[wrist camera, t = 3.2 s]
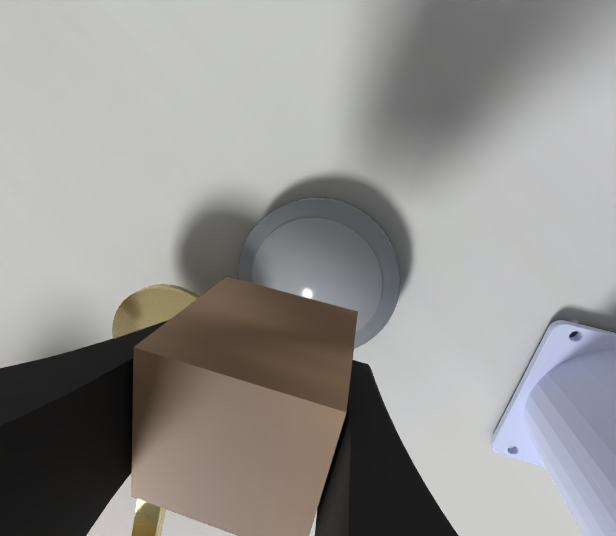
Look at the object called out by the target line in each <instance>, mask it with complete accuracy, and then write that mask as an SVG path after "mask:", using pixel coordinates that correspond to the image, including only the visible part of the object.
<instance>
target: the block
mask: <svg viewBox="0 0 616 536" xmlns="http://www.w3.org/2000/svg"><path fill="white" fill-rule="evenodd" d="M357 315H358V311H354V310H350V309H347V308H343V307H339V306H336V305H332V304H328V303H324V302H321V301H317V300H313V299H309V298H306V297H302V296H298V295H294V294H291V293H287V292H283V291H279V290H276V289H272V288H268V287H265V286H261V285H257V284H253V283H250V282H246V281H242V280H238V279H235V278H231V277H227V276H226V277H225V278H224V279H223V280H221V281H220V282H219V283H217V284H216V285H215V286H213V287H212V288H211V289H209V290H208V291H207V292H205V293H204V294H203V295H202V296H200V297H199V298H198V299H196V300H195V301H194V302H192V303H191V304H190V305H188V306H187V307H186V308H184V309H183V310H182V311H181V312H179V313H178V314H177V315H175V316H174V317H173V318H171V319H170V320H169V321H167V322H166V323H165V324H163V325H162V326H161V327H160V328H158V329H157V330H156V331H154V332H153V333H152V334H150V335H149V336H148V337H146V338H145V339H144V340H142V341H141V342H140V343H139V344H137V345H136V346H135V347H134V358H133V420H132V482H131V496H132V497H134V498H137V499H140V500H142V501H145V502H148V503H151V504H153V505H156V506H159V507H161V508H164V509H167V510H170V511H172V512H175V513H178V514H181V515H183V516H186V517H189V518H191V519H194V520H197V521H200V522H202V523H205V524H208V525H210V526H213V527H216V528H219V529H221V530H224V531H227V532H229V533H232V534H235V535H238V536H309V534H310V531H311V528H312V524H313V521H314V518H315V514H316V511H317V508H318V504H319V501H320V498H321V495H322V491H323V488H324V485H325V481H326V478H327V475H328V472H329V468H330V465H331V462H332V458H333V455H334V452H335V448H336V445H337V442H338V439H339V435H340V432H341V429H342V425H343V422H344V419H345V416H346V412H347V403H348V394H349V386H350V377H351V368H352V359H353V351H354V342H355V333H356V324H357Z"/></svg>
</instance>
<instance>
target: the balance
mask: <svg viewBox="0 0 616 536" xmlns="http://www.w3.org/2000/svg"><path fill="white" fill-rule="evenodd" d="M199 297H200V296H199V295H197V294H195V293H194V292H192V291H189V290H187V289H185V288H182V287H179V286H174V285H167V284H160V285H153V286H149V287H146V288H143V289H141V290H140V291H138V292H136V293H134V294H132V295H131V296H129V297H128V298H127V299H125V300H124V301H123V302H122V304H121V305H120V306H119V308H118V310H117V311H116V314H115V317H114V321H113V330H112V331H113V339H114V338H117V337H120V336H123V335H126V334H129V333H132V332H135V331H138V330H141V329H144V328H147V327H150V326H152V325H155V324H158V323H161V322H164V321H167V320H170V319H171V318H173V317H174V316H175V315H177V314H178V313H179V312H181V311H182V310H183V309H184V308H186V307H187V306H188V305H190V304H191V303H192V302H194V301H195V300H196V299H198V298H199ZM165 510H166V509H164V508H161V507H159V506H156V505H153V504H151V503H148V502H145V501H142V500H140V499H137V505H136V511H135V518H134V524H133V530H132V536H161V533H162V527H163V521H164V516H165Z"/></svg>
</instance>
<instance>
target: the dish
mask: <svg viewBox="0 0 616 536" xmlns="http://www.w3.org/2000/svg"><path fill="white" fill-rule="evenodd" d="M238 277H239V280H242V281H246V282H250V283H253V284H257V285H261V286H265V287H268V288H272V289H276V290H279V291H283V292H287V293H291V294H294V295H298V296H302V297H306V298H309V299H313V300H317V301H321V302H324V303H328V304H332V305H336V306H339V307H343V308H347V309H350V310H354V311H358V315H357V324H356V333H355V342H354V348H357V347H359V346H361V345H363V344H365V343H366V342H368V341H369V340H371V339H372V338H373V337H375V336H376V335H377V334H378V333H379V332H380V331H381V330H382V329H383V327H384V326H385V325H386V324H387V322H388V321H389V319H390V317H391V316H392V314H393V312H394V309H395V307H396V304H397V300H398V296H399V289H400V273H399V268H398V263H397V258H396V254H395V252H394V249H393V246H392V244H391V242H390V240H389V238H388V236H387V235H386V234H385V232H384V231H383V229H382V228H381V227H380V226H379V225H378V224H377V222H376V221H375V220H374V219H372V218H371V217H370V216H369V215H368V214H366V213H365V212H363V211H362V210H360V209H359V208H357V207H355V206H353V205H350V204H348V203H346V202H343V201H339V200H336V199H330V198H306V199H301V200H297V201H293V202H291V203H288V204H286V205H284V206H281V207H279V208H277V209H276V210H274V211H272V212H270V213H269V214H268V215H266V216H265V217H264V218H263V219H261V220H260V221H259V223H258V224H257V225H256V226H255V227H254V228H253V229H252V231H251V232H250V234H249V235H248V237H247V239H246V241H245V243H244V245H243V248H242V251H241V254H240V259H239V268H238Z"/></svg>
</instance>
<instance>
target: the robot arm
mask: <svg viewBox="0 0 616 536" xmlns="http://www.w3.org/2000/svg"><path fill="white" fill-rule="evenodd" d="M167 321H169V320H167ZM167 321H164V322H161V323H158V324H155V325H152V326H150V327H147V328H144V329H141V330H138V331H135V332H132V333H129V334H126V335H123V336H120V337H117V338H114V339H111V340H107V341H104V342H101V343H97V344H94V345H91V346H87V347H84V348H81V349H77V350H74V351H71V352H67V353H63V354H60V355H56V356H52V357H48V358H44V359H40V360H35V361H31V362H27V363H22V364H18V365H14V366H9V367H4V368H0V536H86V535H87V533H88V532H89V531H90V529H91V528H92V526H93V525H94V523H95V522H96V520H97V519H98V517H99V516H100V514H101V513H102V512H103V510H104V509H105V507H106V506H107V504H108V503H109V501H110V500H111V498H112V497H113V496H114V494H115V493H116V492H117V490H118V489H119V488H120V487H121V485H122V484H123V483H124V481H125V480H126V479H127V477H128V476H129V475H130V474H131V473H132V420H133V358H134V347H135V346H136V345H137V344H139V343H140V342H141V341H142V340H144V339H145V338H146V337H148V336H149V335H150V334H152V333H153V332H154V331H156V330H157V329H158V328H160V327H161V326H162V325H163V324H165V323H166V322H167ZM574 331H577V334H576V335H575V336H573V337H569V335H570V334H571V333H572V332H574ZM491 445H492V448H493V450H494V451H495V452H497V453H499V454H502V455H506V456H509V457H512V458H515V459H519V460H522V461H525V462H529V463H532V464H535V465H538V466H542V467H545V468H546V469H547V471H548V473H549V475H550V476H551V478H552V480H553V482H554V484H555V485H556V487H557V489H558V491H559V493H560V494H561V496H562V498H563V500H564V501H565V503H566V505H567V507H568V509H569V510H570V512H571V514H572V516H573V518H574V519H575V521H576V523H577V525H578V526H579V528H580V530H581V532H582V534H583V535H584V536H616V333H614V332H610V331H606V330H602V329H598V328H594V327H590V326H586V325H582V324H578V323H574V322H570V321H566V320H558V321H555V322H553V323H551V324H550V326H549V327H548V329H547V331H546V333H545V335H544V337H543V339H542V341H541V343H540V345H539V347H538V349H537V350H536V352H535V354H534V356H533V358H532V360H531V362H530V364H529V366H528V368H527V370H526V372H525V374H524V376H523V378H522V380H521V382H520V384H519V386H518V388H517V389H516V391H515V393H514V395H513V397H512V399H511V401H510V403H509V405H508V407H507V409H506V411H505V413H504V415H503V417H502V419H501V421H500V423H499V425H498V427H497V429H496V430H495V432H494V434H493V436H492V438H491ZM511 446H515V447H513V448H509V447H511ZM315 536H458V534H457V533H456V531H455V530H454V529H453V527H452V526H451V524H450V523H449V521H448V520H447V518H446V517H445V515H444V514H443V512H442V511H441V509H440V507H439V506H438V504H437V503H436V501H435V499H434V498H433V496H432V495H431V493H430V491H429V490H428V488H427V486H426V485H425V483H424V481H423V480H422V478H421V476H420V474H419V473H418V471H417V469H416V467H415V466H414V464H413V462H412V460H411V458H410V456H409V454H408V453H407V451H406V449H405V447H404V445H403V443H402V441H401V439H400V437H399V435H398V433H397V431H396V429H395V427H394V424H393V422H392V420H391V418H390V416H389V414H388V411H387V409H386V407H385V405H384V402H383V400H382V397H381V395H380V392H379V390H378V387H377V385H376V382H375V379H374V376H373V373H372V370H371V368H370V366H369V365H368V364H365V363H361V362H358V361H354V360H352V368H351V377H350V386H349V394H348V403H347V412H346V416H345V419H344V422H343V425H342V429H341V432H340V435H339V439H338V442H337V445H336V448H335V452H334V455H333V458H332V462H331V465H330V468H329V472H328V475H327V478H326V481H325V485H324V488H323V491H322V495H321V498H320V501H319V504H318V508H317V519H316V529H315Z"/></svg>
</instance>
